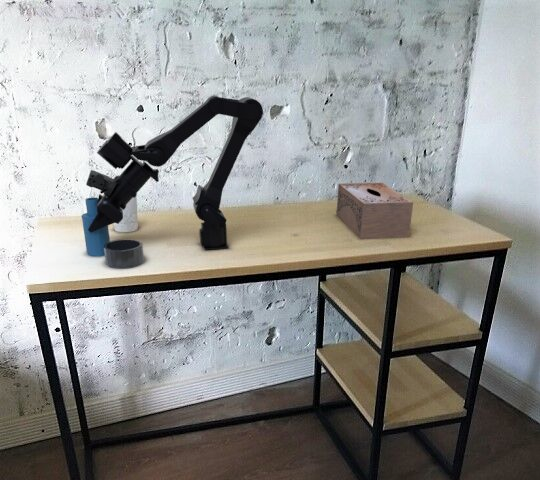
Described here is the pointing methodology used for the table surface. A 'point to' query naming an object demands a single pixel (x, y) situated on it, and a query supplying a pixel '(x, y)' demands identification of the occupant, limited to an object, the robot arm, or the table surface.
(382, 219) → the tissue box cover
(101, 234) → the bottle
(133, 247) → the cup holder
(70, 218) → the table surface
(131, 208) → the white cup
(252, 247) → the table surface
